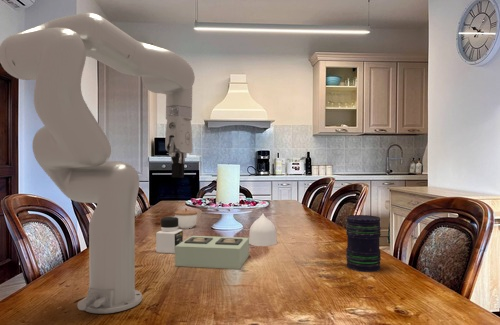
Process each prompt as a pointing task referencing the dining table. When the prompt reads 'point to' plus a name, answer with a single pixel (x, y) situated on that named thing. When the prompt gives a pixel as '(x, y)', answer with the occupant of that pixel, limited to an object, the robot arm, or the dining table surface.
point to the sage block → (212, 252)
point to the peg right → (229, 240)
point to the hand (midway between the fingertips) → (177, 177)
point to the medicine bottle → (168, 235)
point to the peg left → (199, 239)
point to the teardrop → (262, 232)
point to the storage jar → (363, 243)
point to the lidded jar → (186, 218)
